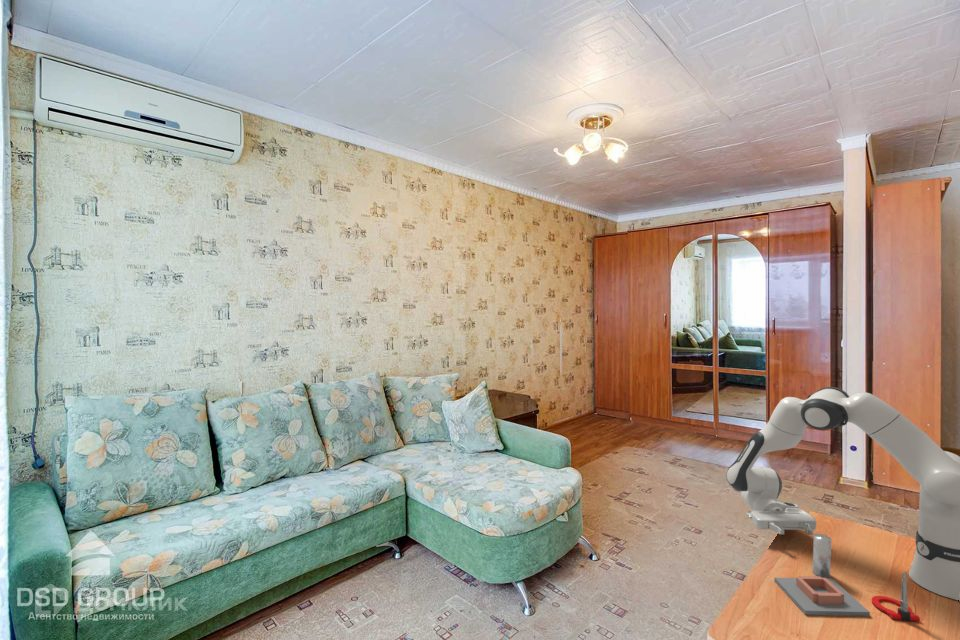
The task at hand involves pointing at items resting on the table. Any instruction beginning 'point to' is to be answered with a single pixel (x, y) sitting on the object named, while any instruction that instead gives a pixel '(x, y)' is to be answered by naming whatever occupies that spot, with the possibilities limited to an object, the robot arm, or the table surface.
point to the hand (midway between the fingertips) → (796, 532)
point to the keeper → (820, 596)
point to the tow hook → (904, 610)
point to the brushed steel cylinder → (821, 555)
